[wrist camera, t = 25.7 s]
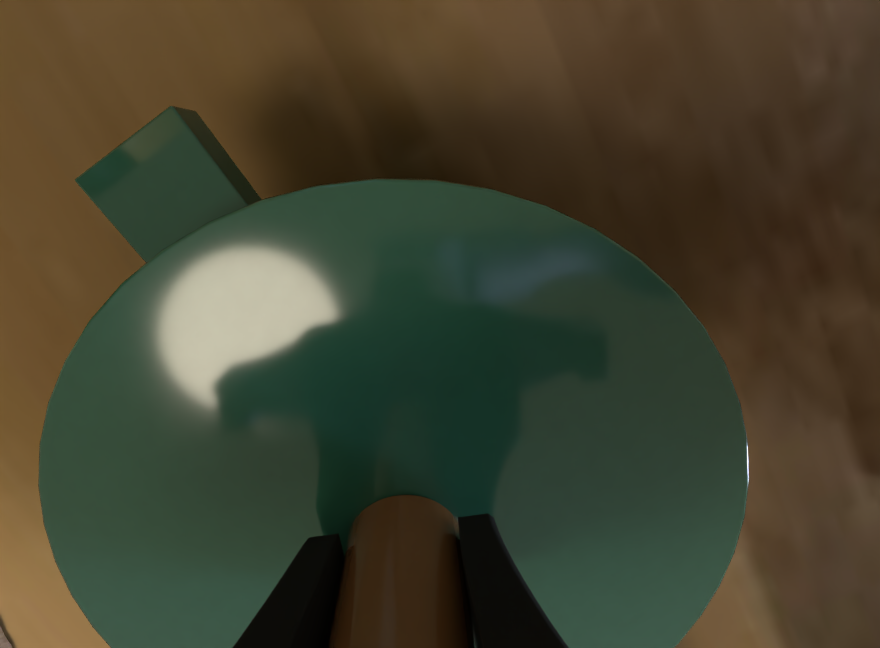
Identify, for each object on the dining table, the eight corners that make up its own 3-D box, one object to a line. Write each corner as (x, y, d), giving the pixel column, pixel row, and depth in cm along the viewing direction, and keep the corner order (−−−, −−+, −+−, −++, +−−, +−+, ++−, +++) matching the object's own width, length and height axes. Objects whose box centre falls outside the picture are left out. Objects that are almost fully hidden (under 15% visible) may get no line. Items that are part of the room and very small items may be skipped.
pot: (429, -2, 12) (435, -123, 7) (703, 500, 18) (820, 640, 13) (47, 279, 14) (-170, 347, 9) (402, 652, 20) (396, 827, 15)
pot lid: (529, -1, 8) (703, -257, 3) (802, 565, 12) (1053, 830, 7) (-77, 429, 10) (-547, 682, 5) (339, 781, 14) (298, 1099, 9)
